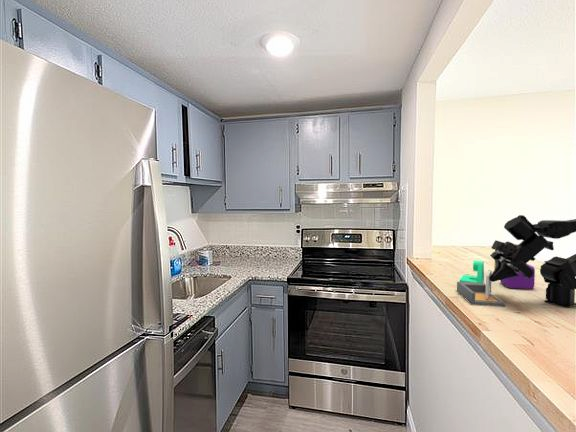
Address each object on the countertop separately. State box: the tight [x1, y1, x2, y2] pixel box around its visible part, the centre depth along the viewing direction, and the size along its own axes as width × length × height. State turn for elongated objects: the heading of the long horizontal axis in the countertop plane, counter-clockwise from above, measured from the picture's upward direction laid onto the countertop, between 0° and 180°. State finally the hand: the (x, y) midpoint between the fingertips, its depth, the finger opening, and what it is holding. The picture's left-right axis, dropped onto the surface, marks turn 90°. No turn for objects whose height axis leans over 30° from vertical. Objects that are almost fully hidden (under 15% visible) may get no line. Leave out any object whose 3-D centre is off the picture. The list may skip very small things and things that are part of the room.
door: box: [485, 269, 493, 299], centre depth 110 cm, size 1×10×8 cm, turn 142°
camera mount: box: [459, 260, 485, 283], centre depth 130 cm, size 12×8×10 cm, turn 143°
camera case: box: [456, 281, 506, 307], centre depth 112 cm, size 10×17×4 cm, turn 168°
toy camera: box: [499, 263, 536, 290], centre depth 128 cm, size 11×14×10 cm
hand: (490, 280), depth 108 cm, fingers closed
